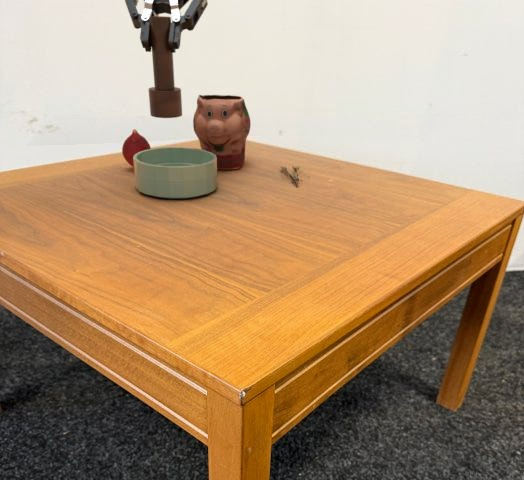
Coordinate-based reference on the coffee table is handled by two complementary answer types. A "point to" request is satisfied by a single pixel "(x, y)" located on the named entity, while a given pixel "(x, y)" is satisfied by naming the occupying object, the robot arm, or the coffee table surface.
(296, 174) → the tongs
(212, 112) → the decorative planter
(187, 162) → the bowl
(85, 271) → the coffee table surface
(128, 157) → the onion
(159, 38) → the pestle
